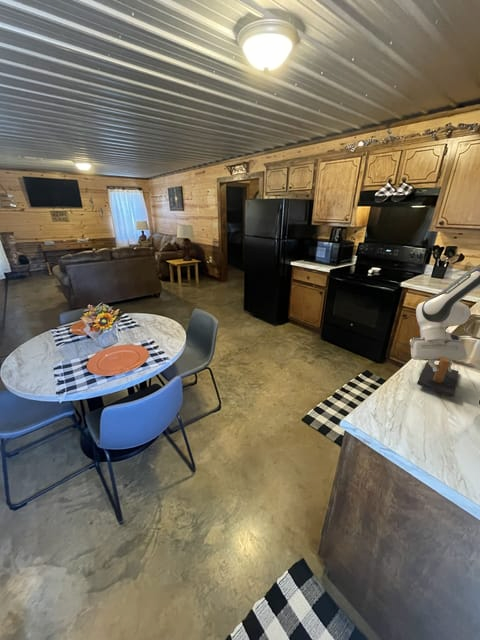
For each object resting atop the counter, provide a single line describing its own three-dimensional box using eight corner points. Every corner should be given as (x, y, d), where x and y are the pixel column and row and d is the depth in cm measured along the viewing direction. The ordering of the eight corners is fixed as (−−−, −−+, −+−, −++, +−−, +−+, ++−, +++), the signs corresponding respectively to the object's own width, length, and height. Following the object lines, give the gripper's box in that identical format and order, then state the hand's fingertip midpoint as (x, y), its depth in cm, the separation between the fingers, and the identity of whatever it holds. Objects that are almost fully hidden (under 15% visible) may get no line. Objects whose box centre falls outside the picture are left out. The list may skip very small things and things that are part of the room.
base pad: (425, 364, 124) (426, 361, 124) (457, 374, 117) (458, 371, 116) (421, 375, 116) (422, 372, 115) (455, 386, 109) (456, 383, 108)
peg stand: (423, 368, 117) (431, 345, 113) (456, 379, 110) (466, 355, 105) (416, 384, 106) (424, 360, 102) (453, 397, 99) (463, 372, 95)
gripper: (413, 335, 106) (420, 369, 101) (464, 336, 106) (475, 370, 101) (404, 339, 112) (411, 372, 107) (453, 341, 112) (462, 373, 106)
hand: (442, 371), depth 104 cm, fingers closed on peg stand, 3 cm apart
